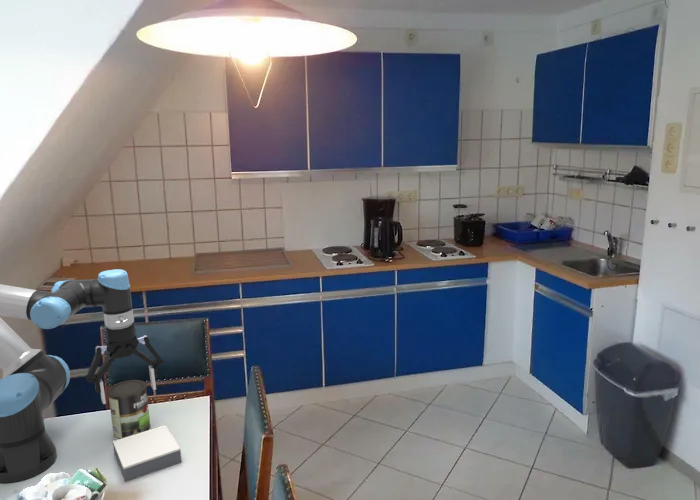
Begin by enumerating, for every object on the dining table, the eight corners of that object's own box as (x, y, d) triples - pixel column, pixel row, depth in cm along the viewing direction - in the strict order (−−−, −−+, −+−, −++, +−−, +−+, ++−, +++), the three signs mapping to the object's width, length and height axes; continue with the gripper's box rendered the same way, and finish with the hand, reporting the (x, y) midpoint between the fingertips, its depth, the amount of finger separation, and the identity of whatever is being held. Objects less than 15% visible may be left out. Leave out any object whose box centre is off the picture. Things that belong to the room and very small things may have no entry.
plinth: (114, 454, 142) (112, 441, 141) (166, 437, 149) (165, 424, 149) (125, 481, 130) (123, 467, 130) (181, 461, 138) (180, 448, 137)
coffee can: (158, 424, 157) (153, 380, 154) (137, 443, 147) (132, 397, 144) (127, 421, 159) (122, 378, 156) (105, 440, 149) (99, 394, 146)
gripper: (71, 339, 136) (83, 413, 140) (169, 318, 149) (176, 387, 154) (68, 331, 142) (79, 402, 146) (162, 312, 155) (169, 378, 160)
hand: (129, 394), depth 150 cm, fingers open, 13 cm apart
